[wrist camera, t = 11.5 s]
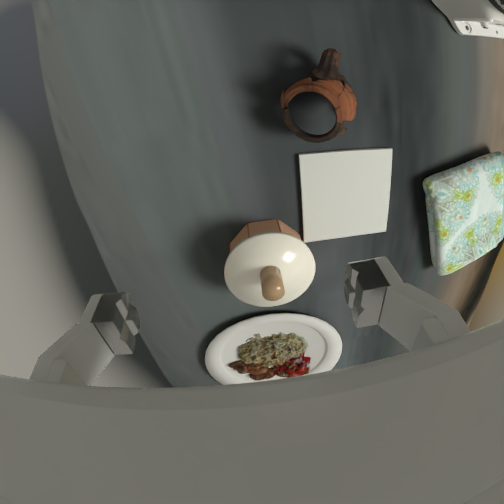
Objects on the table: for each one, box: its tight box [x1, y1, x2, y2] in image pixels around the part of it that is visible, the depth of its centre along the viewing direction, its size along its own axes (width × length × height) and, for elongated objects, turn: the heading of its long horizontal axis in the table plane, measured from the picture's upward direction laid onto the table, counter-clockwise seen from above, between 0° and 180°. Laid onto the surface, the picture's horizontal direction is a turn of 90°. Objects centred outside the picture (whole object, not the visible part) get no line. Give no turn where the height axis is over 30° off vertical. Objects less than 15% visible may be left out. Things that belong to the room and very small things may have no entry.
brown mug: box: [280, 48, 357, 143], centre depth 32 cm, size 12×10×8 cm
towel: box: [423, 151, 504, 276], centre depth 43 cm, size 18×21×5 cm
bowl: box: [230, 219, 301, 252], centre depth 46 cm, size 11×11×5 cm
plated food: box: [205, 313, 342, 385], centre depth 62 cm, size 30×30×3 cm
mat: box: [298, 148, 392, 242], centre depth 42 cm, size 14×14×1 cm
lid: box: [224, 231, 315, 307], centre depth 42 cm, size 13×13×5 cm
